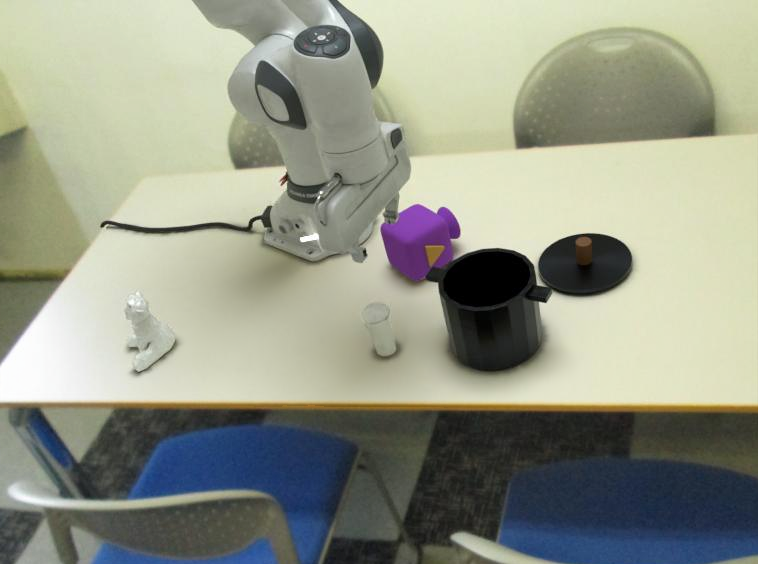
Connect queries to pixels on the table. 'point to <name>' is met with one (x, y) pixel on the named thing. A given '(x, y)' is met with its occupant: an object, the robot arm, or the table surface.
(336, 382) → the table surface
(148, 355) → the sitting furry creature
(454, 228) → the toy camera
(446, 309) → the pot
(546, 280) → the pot lid
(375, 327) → the milkshake
